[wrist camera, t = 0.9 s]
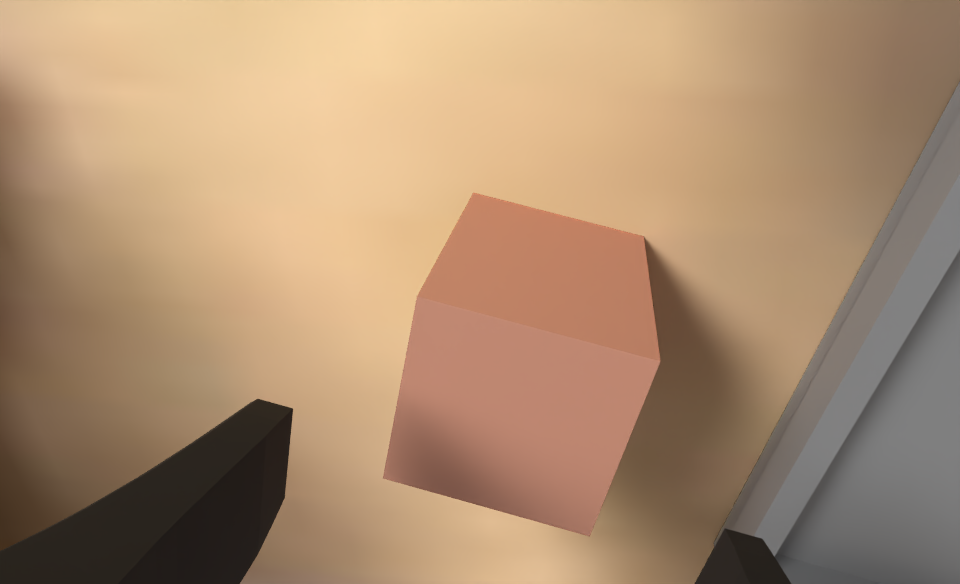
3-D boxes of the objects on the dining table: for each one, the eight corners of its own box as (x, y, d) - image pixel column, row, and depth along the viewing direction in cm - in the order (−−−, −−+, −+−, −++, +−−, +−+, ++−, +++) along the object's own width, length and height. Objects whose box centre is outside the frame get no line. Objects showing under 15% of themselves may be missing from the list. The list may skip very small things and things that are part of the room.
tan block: (594, 377, 20) (589, 536, 14) (442, 336, 20) (382, 478, 14) (643, 236, 17) (660, 361, 12) (473, 192, 18) (416, 296, 12)
